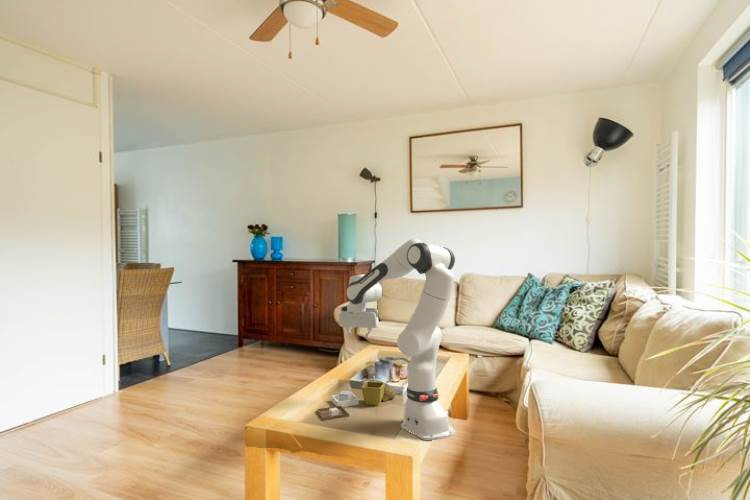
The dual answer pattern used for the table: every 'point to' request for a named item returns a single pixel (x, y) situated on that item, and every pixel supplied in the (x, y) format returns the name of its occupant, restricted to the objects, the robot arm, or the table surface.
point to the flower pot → (373, 392)
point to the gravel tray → (325, 416)
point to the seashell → (388, 393)
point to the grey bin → (345, 403)
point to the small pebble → (333, 412)
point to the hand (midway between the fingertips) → (358, 336)
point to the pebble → (345, 395)
